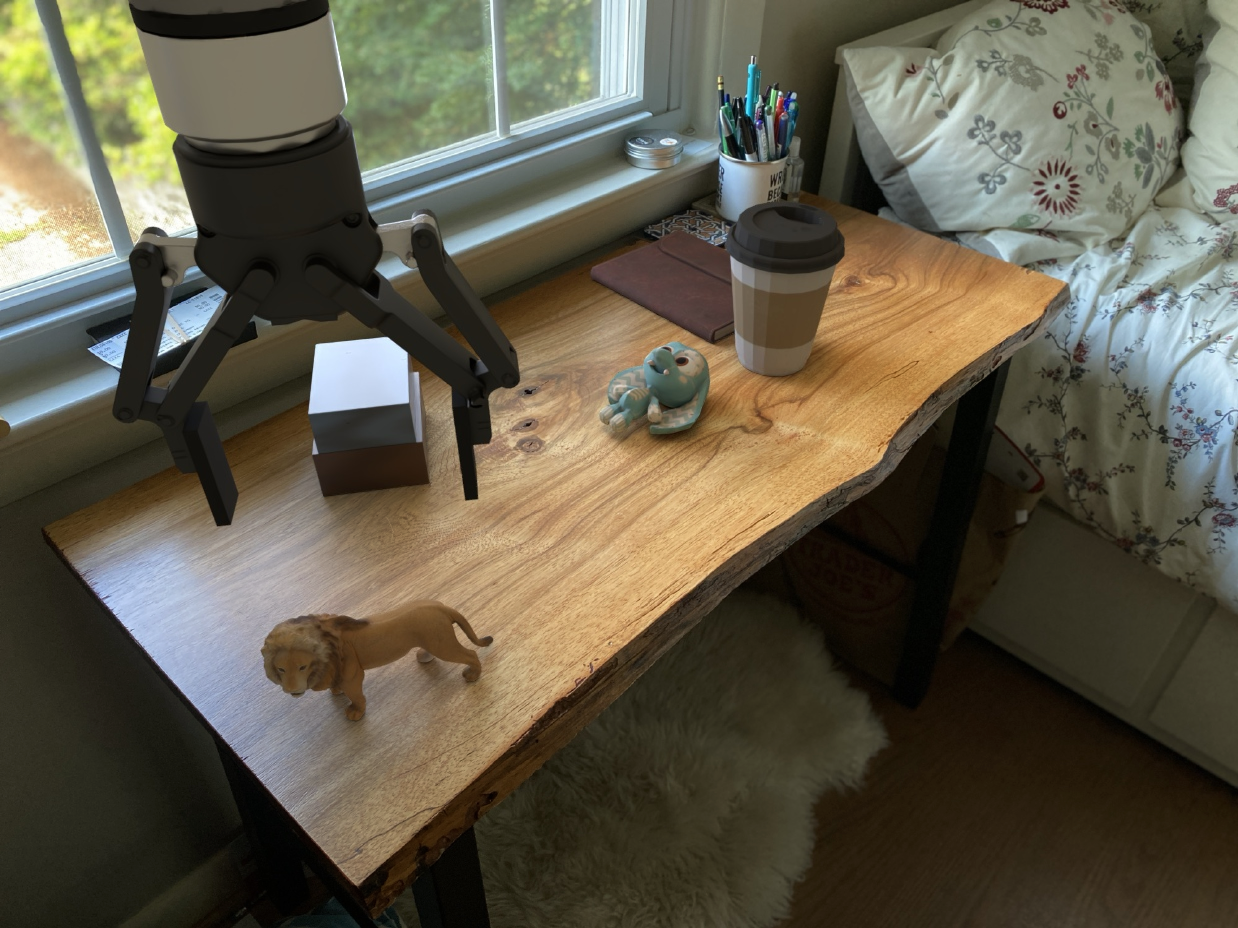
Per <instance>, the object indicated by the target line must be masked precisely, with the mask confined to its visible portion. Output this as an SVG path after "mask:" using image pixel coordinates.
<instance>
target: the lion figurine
mask: <svg viewBox="0 0 1238 928" xmlns="http://www.w3.org/2000/svg"><path fill="white" fill-rule="evenodd" d="M454 624H456V625H457V626H458V627H459V628H460V629H461V631H462V632H463V633H464V634H465V636H466V637H467V639H468V640H469V641H470V642H471V643H472V644H473V645H474V646H476V647H480V648H488V647H490V645H492V644H493V643H494V640H495V639H494V637H492V635H487V636H484V637H480V638H479V637H478V636H477V634H476V632H475V630H474V628H473V627H472V625H471V624H470V622H469V621H468V620H467V618H466V617H465V616H464V615H463V614H462V613H461V612H459V611H458V610H456V609H455V608H453V607H451V606H449V605H445V604H444V602H442V601H440V600H436V599H429V598H419V599H414V600H410V601H409V602H406V603H404V604H402V605H400V606H399V607H396V608H393V609H390V610H388V611H385V612H381V613H378V614H373V615H369V616H366V617H362V618H358V619H356V618H354V617H352V616H348V615H345V614H340V615H338V614H335V613H332V614H330V613H324V612H323V613H322V614H320V613H316V614H313V613H309V614H307V615H299V616H298V617H291V618H288V619H286V620H284V621H281V622H279V623H277V624H276V625H275V626H274V627H273V628H272V629H271V631H269V632H268V634H267V635H266V637H265V638H264V643H263V646H262V647H261V648H260V650H259V651H260V654H261V656H262V658H263V669H264V672H265V676H266V678H267V679H268V680H269V681H271V682H272V683H273V684H275V685H277V686H280V687H281V689H282V692H283V693H285V694H288V695H290V696H291V697H292V698H296V699H299V698H301V697H303V696H304V695H305V693H306V691H308V690H312V691H313V692H321V691H328V690H329V691H330V693H331V694H332V695H334V696H335V695H340V694H344V695H345V696H346V698H347V699H348V700H349V701H350V702H351V703H350V704H348V705H347V706H346V708H345V712H344V716H345V718H346V719H348V720H350V721H359V720H361V718H362V717H363V716H364V714H365V712H366V709H367V704H366V703H367V698H366V696H365V694H364V691H363V687H364V686H363V685H364V681H365V675H366V673H365V671H367V670H372V669H373V670H374V669H376V668H377V669H378V668H381V667H384V666H387V665H390V664H392V663H394V662H396V661H398V660H400V659H402V658H404V657H405V656H407V655H408V654H409V653H410V652H411V651H412V650H413V649H416V648H420V649H418V650H417V651H416V660H417V661H418V662H419V663H428V662H430V661H431V662H432V660H433V659H434V658H437V659H438V660H441V661H444V662H446V663H447V662H448V663H451V664H452V663H454V664H458V665H459V664H461V665H465V667H464V668H463V670H462V673H461V676H462V677H463V678H464V679H465V680H466V681H468V682H474V681H476V680H478V679H479V678H480V677H481V675H482V663H481V661H480V659H479V656H478V653H477V652H476V651H475V650H474V649H469V648H466V647H465V646H464V645H463V644H461V643H460V641H459V640H458V638H457V635H456V632H455V627H454Z"/></svg>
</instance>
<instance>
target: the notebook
mask: <svg viewBox="0 0 1238 928" xmlns="http://www.w3.org/2000/svg"><path fill="white" fill-rule="evenodd" d="M590 277H591V279H592V280H593V281H595V282H597V283H599V284H601V285H603V286H605V287H606V288H609V289H610V290H612V291H614V292H616V293H618V294H619V295H621V296H623V297H625V298H627V299H629V300H631V301H632V302H634V303H637V304H638V305H640V306H641V307H644V308H645V309H647V310H650V311H651V312H652V313H655V314H657V315H659V316H661V317H662V318H664V319H666V320H668V321H669V322H672V323H674V324H675V325H677V326H679V327H681V328H683V329H684V330H686V331H689V332H690V333H692V334H694V335H696V336H698V337H699V338H701V339H703V340H705V341H707V342H709V343H711V344H716V343H718V342H720V341H721V340H724V339H725V338H728V337H730V336H731V335H735V326H734V309H733V291H732V274H731V257H730V255H729V254H728V252H727V250H726V248H725V249H724V248H722V247H720V246H718V245H716V244H713V243H712V242H709V241H707V240H705V239H703V238H700V237H698V236H695V235H694V234H691V233H689V232H687V231H684V230H682V229H676V230H675V231H673V232H670V233H668V234H667V233H666V234H665V235H663V236H661V237H660V238H659V239H658V240H655V241H652V242H649V243H648V244H645V245H642V246H640V247H638V248H635V249H633V250H631V251H628V252H625V253H623V254H620V255H618V256H616V257H613V258H610V259H608V260H606V261H603V262H601V263H598V264H596V265H594V266H591V269H590Z"/></svg>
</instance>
